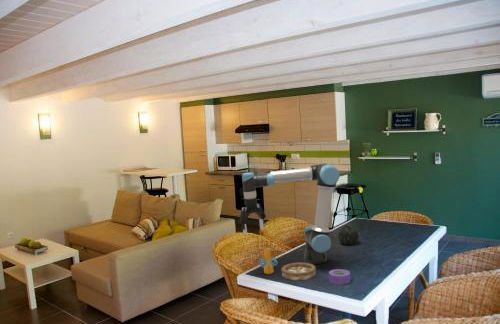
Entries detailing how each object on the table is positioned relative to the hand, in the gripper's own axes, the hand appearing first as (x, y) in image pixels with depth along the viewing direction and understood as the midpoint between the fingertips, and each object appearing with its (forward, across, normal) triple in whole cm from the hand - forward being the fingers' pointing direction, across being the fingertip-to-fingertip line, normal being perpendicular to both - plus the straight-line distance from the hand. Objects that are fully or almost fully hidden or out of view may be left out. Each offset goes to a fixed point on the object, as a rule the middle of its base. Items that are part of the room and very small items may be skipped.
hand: (253, 232), depth 256 cm
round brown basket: (+27, -15, +21) cm, 37 cm away
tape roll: (+28, -22, +46) cm, 58 cm away
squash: (+28, -84, +5) cm, 89 cm away
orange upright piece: (+27, -6, +4) cm, 28 cm away
